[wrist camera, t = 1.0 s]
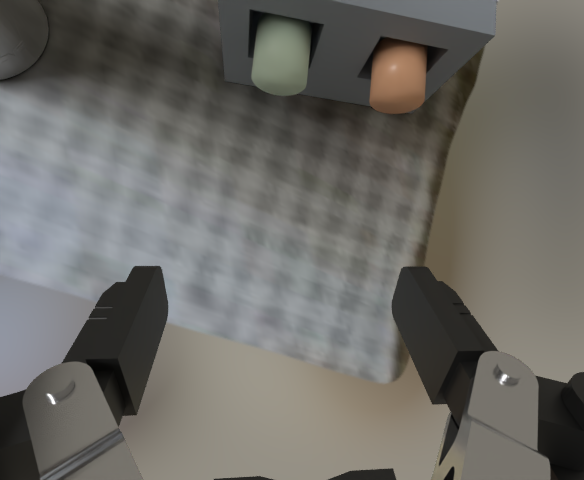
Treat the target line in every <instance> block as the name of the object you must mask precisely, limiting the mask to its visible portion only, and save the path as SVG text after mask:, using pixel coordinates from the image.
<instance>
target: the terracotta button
mask: <svg viewBox="0 0 584 480" xmlns="http://www.w3.org/2000/svg"><path fill="white" fill-rule="evenodd" d="M427 50H428V47H427V45H424V44H419V43H414V42H409V41H404V40H399V39H394V38H389V37H386V38H384V39H383V40H381V41H380V42H379V43H378V44H377V45H376V46H375V48H374V51H373V61H372V74H371V87H370V100H369V103H370V106H371V107H372V108H373V109H375V110H376V111H379V112H382V113H387V114H401V113H406V112H410V111H413V110H415V109H417V108H418V107H420V106H421V105H422V104H423V102H424V100H425V85H426V68H427Z"/></svg>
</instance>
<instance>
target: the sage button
mask: <svg viewBox="0 0 584 480" xmlns="http://www.w3.org/2000/svg"><path fill="white" fill-rule="evenodd" d="M311 35H312V28H311V25H310V23H309V21H306V20H301V19H296V18H291V17H286V16H281V15H276V14H271V13H266V12H265V13H264V14H262V15H261V17H260V18H259V20H258V24H257V32H256V41H255V49H254V58H253V66H252V74H251V78H252V81H253V83H254V84H255V85H256V86H257V87H258V88H259V89H261V90H262V91H264V92H267V93H269V94H273V95H278V96H290V95H295V94H298V93H300V92H302V91H303V90H304V89H305V87H306V85H307V76H308V65H309V55H310V45H311Z"/></svg>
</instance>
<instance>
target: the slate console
mask: <svg viewBox="0 0 584 480" xmlns="http://www.w3.org/2000/svg"><path fill="white" fill-rule="evenodd" d="M218 7H219V18H220V30H221V41H222V53H223V64H224V76H225V81H227V82H233V83H238V84H244V85H250V86H256V85H255V84H254V83H253V81H252V78H251V74H252V66H253V58H254V49H255V41H256V32H257V24H258V20H259V18H260V17H261V15H262V14H264V13H265V12H266V13H271V14H276V15H281V16H286V17H291V18H296V19H301V20H306V21H309V23H310V25H311V28H312V35H311V45H310V55H309V65H308V76H307V85H306V87H305V89H304V90H303V91H302V92H300V93H298V94H302V95H308V96H313V97H319V98H325V99H331V100H337V101H342V102H348V103H354V104H360V105H365V106H370V103H369V100H370V87H371V74H372V61H373V51H374V48H375V46H376V45H377V44H378V43H379V42H380V41H381V40H383V39H384V38H386V37H389V38H394V39H399V40H404V41H409V42H414V43H419V44H424V45H427V47H428V50H427V68H426V85H425V100H424V102H425V101H426V100H427V99H428V98H429V97H430V96H431V95H432V94H433V93H434V92H436V91H437V90H438V89H439V88H440V87H441V86H442V85H443V84H444V83H445V82H446V81H447V80H448V79H449V78H450V77H452V76H453V75H454V74H455V73H456V72H457V71H458V70H459V69H460V68H461V67H462V66H463V65H464V64H465V63H466V62H468V61H469V60H470V59H471V58H472V57H473V56H474V55H475V54H476V53H477V52H478V51H479V50H480V49H481V48H482V47H483V46H485V45H486V44H487V43H488V42H489V41H490V40H491V39H492V38H493V37H494V36H495V26H496V0H218ZM256 87H257V86H256ZM424 102H423V103H424ZM418 108H419V107H418ZM415 110H416V109H415ZM415 110H413V111H410V112H406V113H411V114H412V113H413V112H414V111H415Z"/></svg>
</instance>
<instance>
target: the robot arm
mask: <svg viewBox="0 0 584 480" xmlns="http://www.w3.org/2000/svg"><path fill="white" fill-rule="evenodd" d="M48 32H49V28H48V20H47V17H46V14H45V12H44V9H43V7H42V6H41V4H40V3H39V1H38V0H0V80H1V79H7V78H9V77H12V76H15V75H18V74H20V73H21V72H23V71H25V70H26V69H28V68H29V67H30V66H31V65H32V64H34V63H35V62H36V61H37V60H38V58H39V57H40V55H41V54H42V52H43V51H44V48H45V46H46V43H47V40H48ZM392 314H393V317H394V320H395V322H396V324H397V327H398V329H399V331H400V333H401V335H402V338H403V340H404V342H405V344H406V347H407V349H408V351H409V353H410V356H411V358H412V360H413V362H414V364H415V367H416V369H417V371H418V373H419V376H420V378H421V380H422V382H423V385H424V387H425V389H426V391H427V393H428V396H429V398H430V400H431V402H432V404H447V405H448V407H449V409H450V411H451V412H450V413H449V415H448V418H447V422H446V426H445V429H444V433H443V437H442V441H441V445H440V449H439V452H438V456H437V460H436V464H435V468H434V471H433V475H432V477H431V480H584V372H581V373H577V374H575V375H574V376H573V377H572V378H571V380H570V381H569V382H568V383H563V382H559V381H555V380H551V379H546V378H543V377H538V376H535V375H534V373H533V372H532V371H531V370H530V369H529V367H528V366H526V365H525V364H524V363H523V362H521V361H520V360H519V359H516V358H515V357H513V356H511V355H509V354H506V353H503V352H499V351H498V350H497V349H496V347H495V346H494V344H493V343H492V342H491V340H490V339H489V337H488V336H487V335H486V334H485V332H484V331H483V329H482V328H481V326H480V325H479V324H478V322H477V321H476V319H475V318H474V317H473V315H471V313H470V311H469V310H468V308H467V307H466V306H464V303H463V301H462V300H461V299H460V297H459V296H458V295H457V293H456V292H455V291H454V290H453V289H451V288H450V287H449V286H448V285H446V284H445V283H444V282H442V281H437V280H436V279H435V277H434V276H433V274H432V273H431V271H430V270H429V268H427V267H403V268H402V269H401V272H400V275H399V279H398V282H397V286H396V289H395V293H394V296H393V300H392ZM167 316H168V300H167V294H166V289H165V284H164V278H163V273H162V269H161V267H160V266H135V267H133V269H132V271H131V273H130V274H129V276H128V278H127V280H126V282H116V283H115V284H113V285H112V286H111V287H110V288H109V289H107V290H106V291H105V292H104V293H103V294H102V295H101V297H100V299H99V301H98V302H97V304H96V306H95V309H93V311H92V313H91V314H90V316H89V320H87V321H86V323H85V325H84V326H83V328H82V330H81V331H80V333H79V335H78V336H77V338H76V340H75V342H74V343H73V345H72V347H71V348H70V350H69V352H68V353H67V355H66V357H65V359H64V360H63V362H62V363H61V364H59V365H56V366H54V367H52V368H50V369H48V370H46V371H44V372H43V373H41V374H40V375H39V376H38V377H36V379H34V380H33V382H31V384H30V385H29V386H28V388H27V389H26V390H23V391H20V392H17V393H13V394H10V395H7V396H3V397H0V480H143V478H142V476H141V473H140V471H139V469H138V467H137V465H136V463H135V460H134V458H133V456H132V454H131V452H130V449H129V447H128V445H127V443H126V441H125V439H124V437H123V434H122V432H120V429H119V425H120V421H121V419H122V416H128V415H137V412H138V409H139V406H140V403H141V400H142V396H143V393H144V390H145V387H146V384H147V381H148V378H149V374H150V371H151V368H152V365H153V362H154V359H155V356H156V353H157V349H158V346H159V343H160V340H161V337H162V334H163V331H164V327H165V324H166V321H167ZM214 480H273V479H268V478H265V477H260V476H257V477H239V478H223V479H214ZM329 480H396V478H395V474H394V471H393V469H377V470H359V471H349V472H347V473H344V474H341V475H339V476H336V477H334V478H331V479H329Z"/></svg>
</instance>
